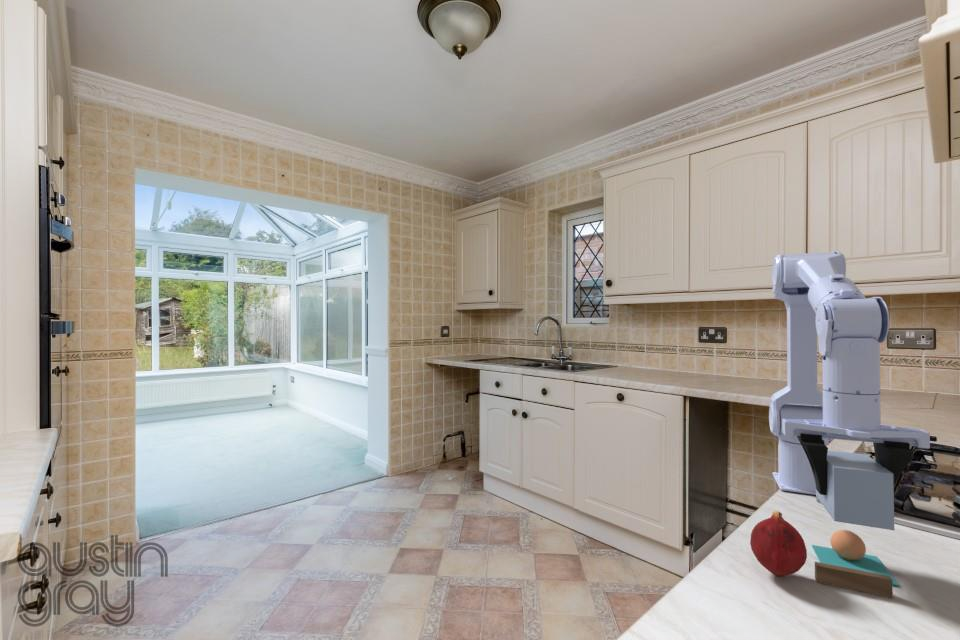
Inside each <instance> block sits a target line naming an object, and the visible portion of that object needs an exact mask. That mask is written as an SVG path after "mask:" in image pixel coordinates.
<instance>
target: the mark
mask: <svg viewBox="0 0 960 640" xmlns="http://www.w3.org/2000/svg"><path fill="white" fill-rule="evenodd" d="M811 547H812V549H813V551H814V553H815V554H816V557H817V558H818V561H819V562H820V563H825V564H830V565H835V566H840V567H846V568H851V569H856V570H861V571H867V572H872V573H877V574H882V575H887V576H890V578H891V579H892V580H893V587H897V588H900V584H899V583H898V582H897V581H896V580H895V578H894V576H892V574H891V573H890V571H889V570H888V569H887V568H886V567H885V565H884V564H883V562H881V560H880V559H879V557H878V556H877V555H876V556H875V555H871V554H866V553H865V555H864V556H863V557H862V558H861V559H859V560H847V559H844V558H842V557H841V556H839V555H838V554H837V553H836V552H835V551H834V550H833V548H832V547H827V546H821V545H816V544H815V545H814V544H811Z"/></svg>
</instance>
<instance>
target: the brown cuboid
mask: <svg viewBox="0 0 960 640" xmlns="http://www.w3.org/2000/svg"><path fill="white" fill-rule="evenodd" d="M814 579H815V581H816V583H819V584H824V585H828V586H834V587H837V588H838V587H839V588H843V589H848V590H853V591H858V592H863V593H867V594H872V595H876V596H882V597H886V598H891V599H892V598H894V597H893V595H894V594H893V591H894V590H893V587H894V586H893V580H892V579H891V578H890V576H887V575H882V574H877V573H872V572H867V571H861V570H856V569H851V568H846V567H840V566H835V565H830V564H825V563H820V561H819V562H818V561H814Z"/></svg>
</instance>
